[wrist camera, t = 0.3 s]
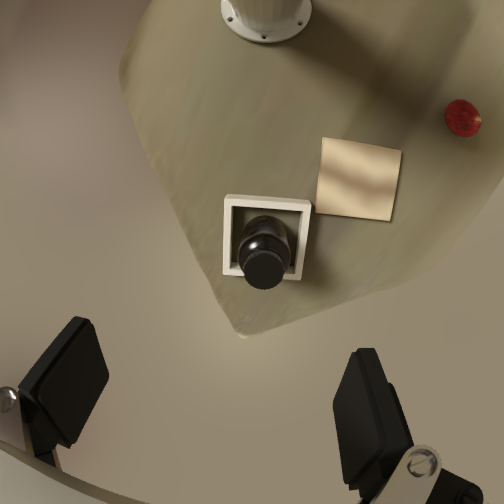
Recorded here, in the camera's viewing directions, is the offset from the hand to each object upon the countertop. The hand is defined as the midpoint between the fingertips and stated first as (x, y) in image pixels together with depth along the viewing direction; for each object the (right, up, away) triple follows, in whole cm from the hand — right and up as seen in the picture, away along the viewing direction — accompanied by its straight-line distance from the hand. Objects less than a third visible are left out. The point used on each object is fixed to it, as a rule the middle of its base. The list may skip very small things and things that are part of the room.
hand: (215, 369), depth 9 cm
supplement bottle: (+3, +7, +35) cm, 36 cm away
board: (+17, +15, +31) cm, 38 cm away
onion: (+33, +25, +25) cm, 48 cm away
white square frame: (+3, +7, +35) cm, 36 cm away
